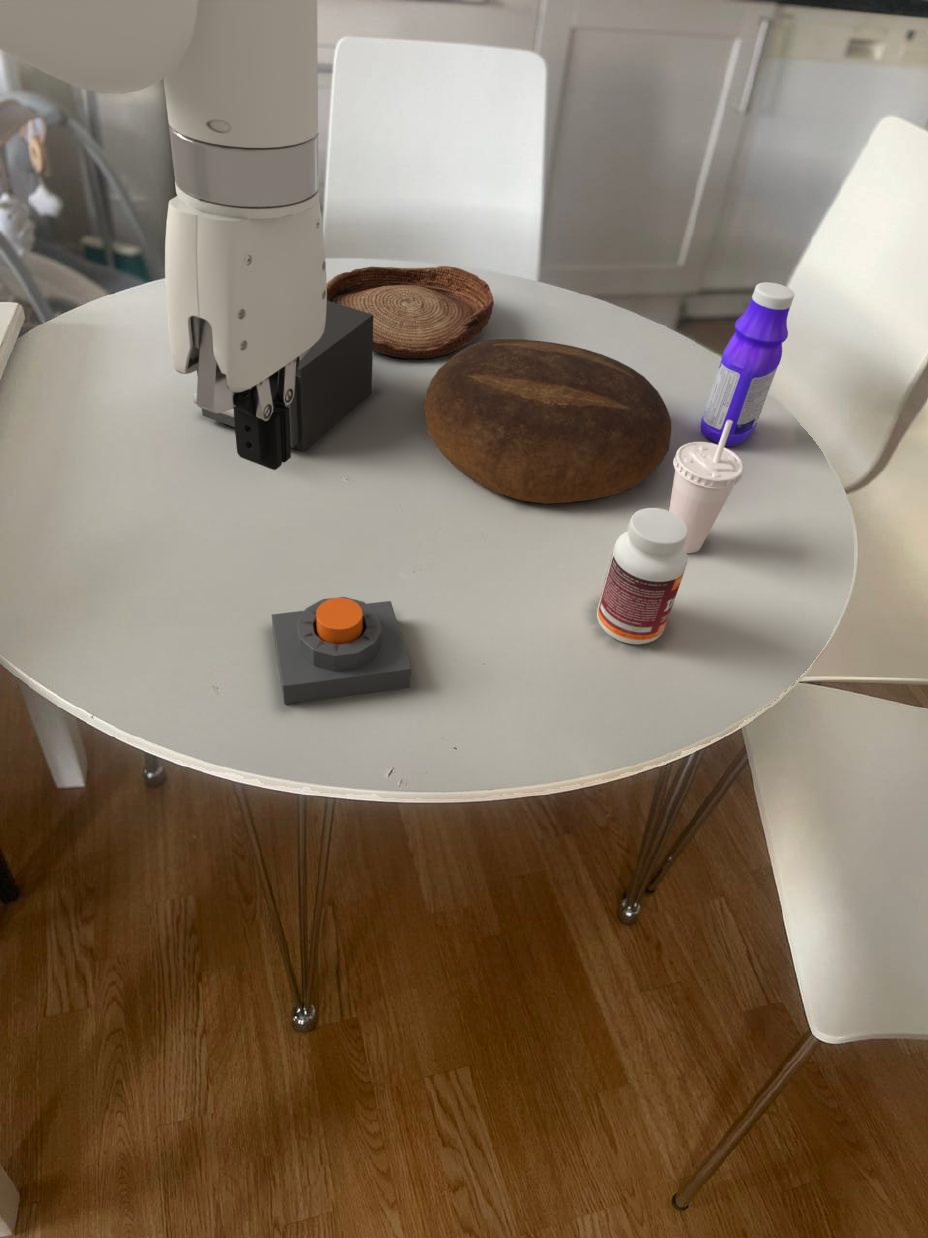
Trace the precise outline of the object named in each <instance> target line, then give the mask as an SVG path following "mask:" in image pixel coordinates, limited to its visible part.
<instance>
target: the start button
mask: <svg viewBox="0 0 928 1238" xmlns="http://www.w3.org/2000/svg"><path fill="white" fill-rule="evenodd" d="M332 598H333V599H329V598H328V599H329V600H327V601H325V602H323V603H322V604H321V605H320V606H319V607H318V609H317V612H316V621H317V633H318V635H319V636H320V638H321V639H323V640H324V641H326V642H328V643H332V644H336V645H338V644H346V643H351V642H353V641H355V640H357V639H358V638H359V637H360V635H361V633H362V629H363V612H362V609H361V607H360V606H359V605H358V604H357V603H356V602H354V601H353V600H350V599H347V598H348V597H347V598H338V597H332Z"/></svg>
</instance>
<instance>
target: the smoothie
mask: <svg viewBox="0 0 928 1238" xmlns="http://www.w3.org/2000/svg"><path fill="white" fill-rule="evenodd" d="M732 423H733V422H732V421H731V420H727V421H726V424H725V427H724V430H723V433H722V436H721V439H720V442H719V444H718V443H714V442H707V441H693V442H688V443H685V444H683V445H681V446H680V447H679V448H678V449H677V450H676V453H675V456H674V457H673V462H672V464H673V467H674V475H673V482H672V488H671V496H670V501H669V508H668V511H670V512H672V513H674V514H676V515H677V516H679V517H680V518H681V519H682V520H683V521H684V522H685V524H686V525H687V528H688V533H687V537H686V541H685V545H684V546H683V547H684V548H685V550H686V553H687V554H695V553H697V552H698V551H700V550H701V548H702V547H703V544H704V543H705V540H706V539H707V538H708V535H709V533H710V531H711V529H712V527H713V525H714V524H715V522H716V520H717V518H718V517H719V514H720V513H721V511H722V510H723V507H724V505H725V503H726V502H727V500H728V498H729V496H730V494H731V492H732V490H733V488H734V487H735V486H736V485H738V484H739V483H740V481H741V480H742V478H743V473H744V470H745V466H744V461H742V459H741V458H740V456H738V455H737V453H735V452H734V451H732V450H731V449H729V448H727V447H726V446H725V443H726V440H727V438H728V435H729V432H730V429H731V426H732Z"/></svg>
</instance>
